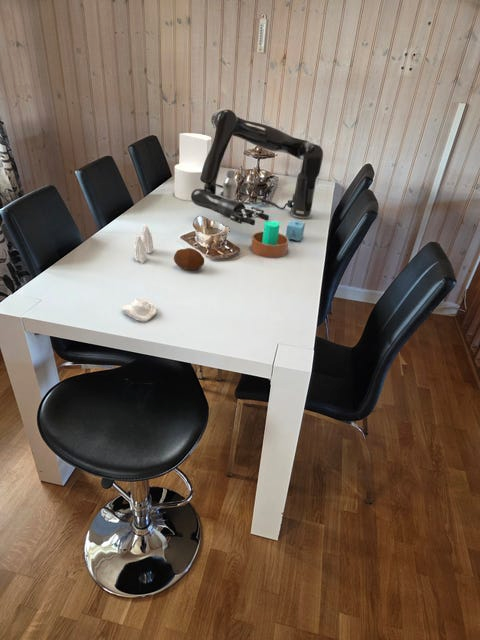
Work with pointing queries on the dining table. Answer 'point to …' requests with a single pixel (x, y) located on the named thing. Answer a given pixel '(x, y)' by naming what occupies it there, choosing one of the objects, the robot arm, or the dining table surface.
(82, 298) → the dining table surface
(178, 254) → the potato
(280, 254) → the pot
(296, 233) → the teapot
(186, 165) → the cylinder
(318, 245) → the dining table surface
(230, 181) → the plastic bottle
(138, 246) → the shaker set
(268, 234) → the candle
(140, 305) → the rose
